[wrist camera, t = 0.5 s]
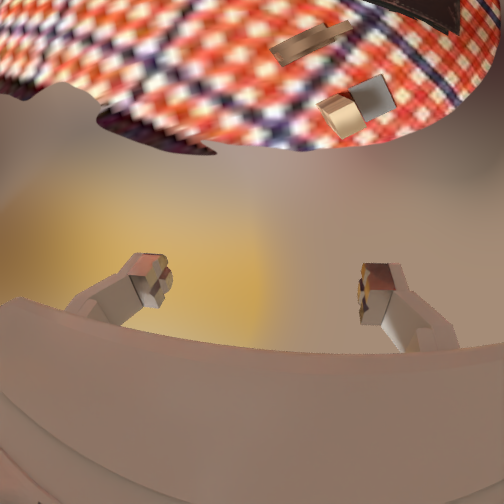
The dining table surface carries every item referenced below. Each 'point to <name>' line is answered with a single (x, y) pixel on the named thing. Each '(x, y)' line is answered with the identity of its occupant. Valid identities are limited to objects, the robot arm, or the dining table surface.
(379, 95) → the slate coaster
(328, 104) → the tan boxy piece
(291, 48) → the screen
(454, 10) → the diary
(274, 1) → the dining table surface
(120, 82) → the dining table surface
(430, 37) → the dining table surface
